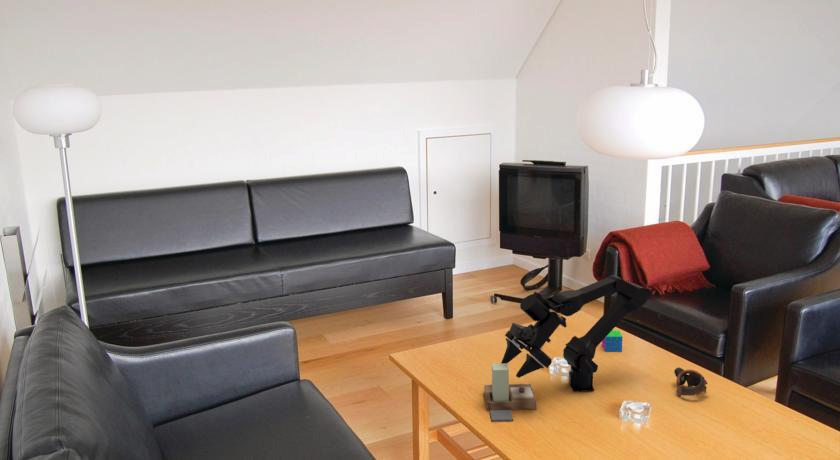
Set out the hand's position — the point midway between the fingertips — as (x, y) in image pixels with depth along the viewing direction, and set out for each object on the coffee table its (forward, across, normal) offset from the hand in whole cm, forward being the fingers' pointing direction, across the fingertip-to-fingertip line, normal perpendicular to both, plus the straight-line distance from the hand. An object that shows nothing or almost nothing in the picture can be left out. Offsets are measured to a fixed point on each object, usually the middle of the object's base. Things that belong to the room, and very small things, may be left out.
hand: (509, 370), depth 201 cm
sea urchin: (-9, -24, +24) cm, 35 cm away
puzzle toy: (-29, -21, +43) cm, 56 cm away
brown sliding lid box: (+7, -1, +8) cm, 10 cm away
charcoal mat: (+12, +7, +3) cm, 14 cm away
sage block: (+9, 0, +5) cm, 11 cm away
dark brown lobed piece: (-30, +16, +44) cm, 55 cm away
